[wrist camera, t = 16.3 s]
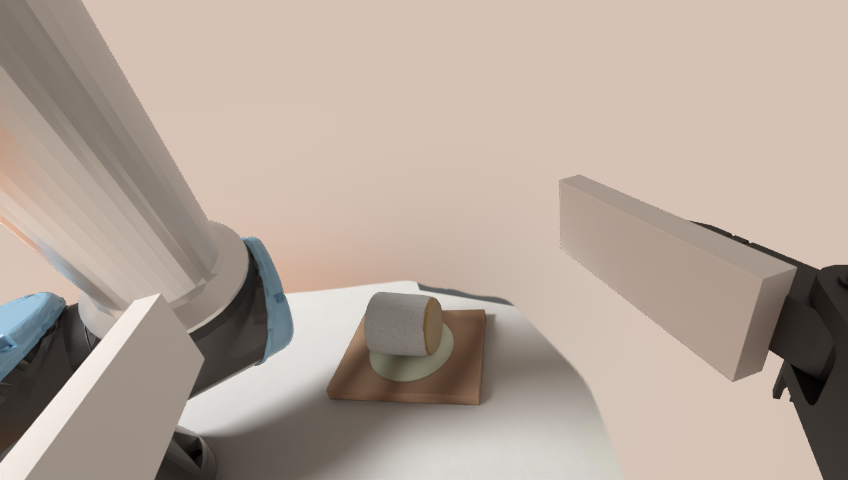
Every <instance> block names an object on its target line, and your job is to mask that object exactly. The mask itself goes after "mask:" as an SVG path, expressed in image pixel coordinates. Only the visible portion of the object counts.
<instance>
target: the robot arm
mask: <svg viewBox="0 0 848 480" xmlns="http://www.w3.org/2000/svg"><path fill="white" fill-rule="evenodd" d="M559 191H560V192H559V195H560V241H561V243H560V245H561V249H562V250H563V251H564V252H565V253H567V254H568V255H569V256H571V257H572V258H573V259H574V260H576V261H577V262H578V263H580V264H581V265H582V266H583V267H585V268H586V269H587V270H589V271H590V272H591V273H592V274H594V275H595V276H596V277H598V278H599V279H600V280H602V281H603V282H604V283H605V284H607V285H608V286H609V287H611V288H612V289H613V290H614V291H616V292H617V293H618V294H620V295H621V296H622V297H623V298H625V299H626V300H627V301H629V302H630V303H631V304H632V305H634V306H635V307H636V308H638V309H639V310H640V311H641V312H643V313H644V314H645V315H647V316H648V317H649V318H650V319H652V320H653V321H654V322H656V323H657V324H658V325H660V326H661V327H662V328H663V329H665V330H666V331H667V332H669V333H670V334H671V335H673V336H674V337H675V338H676V339H678V340H679V341H680V342H682V343H683V344H684V345H685V346H687V347H688V348H690V350H692V351H693V352H694V353H696V354H697V355H698V356H700V357H701V358H702V359H703V360H705V361H706V362H707V363H709V364H710V365H711V366H713V367H714V368H715V369H716V370H718V371H719V372H720V373H721V374H723V375H724V376H725V377H727V378H728V379H729V380H731V381H732V382H734V381H737V380H739V379H742V378H744V377H747V376H749V375H752V374H755V373H757V372H760V371H762V369H763V366H764V363H765V360H766V357H767V354H768V351H769V350H770V351H772V352H773V353H775V354H777V355H778V356H780V357H781V358H783V359H784V362H783V364H782V367H781V369H780V372H779V375H778V377H777V380H776V383H775V385H774V388H773V398H775V399H780V397H781V395H782V392H783V390H784V389H785V388H786V387H787V388H788V391H789V393H790V395H791V397H790V402H793V403H794V406H795V408H796V411H797V413H798V416H799V418H800V421H801V424H802V426H803V429H804V431H805V434H806V436H807V439H808V442H809V444H810V447H811V449H812V452H813V454H814V457H815V459H816V462H817V464H818V466H819V470H820V472H821V475H822V477H823V480H848V265H833V266H829V267H825V268H822V269H821V270H819V269H816V268H814V267H811V266H809V265H807V264H804V263H802V262H799V261H797V260H794V259H792V258H789V257H787V256H785V255H782V254H780V253H777V252H775V251H773V250H770V249H768V248H765V247H763V246H760V245H758V244H755V243H749V241H748V240H746V239H743V238H741V237H738V236H736V235H735V236H732V234H731V233H729V232H726V231H724V230H721V229H719V228H717V227H714V226H712V225H707V224H702V223H698V222H693V221H688V220H685V219H683V218H680V217H678V216H675V215H673V214H671V213H669V212H666V211H663V210H661V209H659V208H657V207H654V206H652V205H649V204H647V203H645V202H643V201H640V200H638V199H635V198H633V197H631V196H628V195H626V194H624V193H621V192H619V191H617V190H614V189H612V188H610V187H607V186H605V185H602V184H600V183H598V182H595V181H593V180H591V179H588V178H586V177H584V176H581V175H576V176H573V177H569V178H565V179H562V180H559ZM0 224H1V225H2V226H3V227H5V228H6V229H7V230H8V231H10V232H11V233H12V234H13V235H15V236H16V237H17V238H18V239H19V240H21V241H22V242H23V243H24V244H26V245H27V246H28V247H30V249H32V250H33V251H34V252H36V253H37V254H38V255H39V256H40V257H42V258H43V259H44V260H45V261H47V262H48V263H49V264H50V265H52V266H53V267H54V268H55V269H56V270H58V271H59V272H60V273H62V274H63V275H64V276H65V277H66V278H68V279H69V280H70V281H71V282H72V283H74V284H75V285H76V286H77V287H79V288H80V289H81V291H80V294H79V300H78V303H76V304H74V305H70V306H67V305H66V301H65V300H64V298H62V297H59V296H57V295H55V294H53V293H50V292H40V293H37V294H36V295H27V296H24V297H21V298H19V299H16V300H13V301H11V302H9V303H6V304H4V305H2V306H0V480H215V477H216V461H215V457H214V454H213V452H212V451H211V449H210V448H209V447H208V445H207V444H206V443H205V442H204V440H203V439H202V438H201V437H200V436H199V435H197V434H196V433H194V432H192V431H190V430H188V429H186V428H183V427H181V426H179V425H177V424H178V421H179V419H180V417H181V414H182V412H183V410H184V407H185V405H186V402H187V401H188V400H190V399H191V398H193V397H195V396H197V395H199V394H201V393H203V392H205V391H207V390H208V389H210V388H212V387H214V386H216V385H218V384H220V383H222V382H224V381H226V380H227V379H229V378H231V377H233V376H235V375H237V374H239V373H241V372H243V371H244V370H246V369H248V368H250V367H252V366H257V365H260V364H262V363H264V362H265V361H266V359H267V358H269V357H270V356H272V355H274V354H275V353H277V352H279V351H280V350H282V349H284V348H285V347H286V346H287V345H288V344H289V343H290V342H291V340H292V337H293V332H294V327H293V320H292V316H291V312H290V308H289V305H288V302H287V299H286V297H285V295H284V294H283V288H282V284H281V281H280V279H279V276H278V273H277V271H276V269H275V266H274V264H273V262H272V260H271V258H270V255H269V254H268V252H267V250H266V248H265V246H264V245H263V244H262V242H261V241H260V240H259V239H257V238H256V237H248V238H244V237H242V238H240V237H239V236H238V234H236V233H235V232H234V231H233V230H232V229H230V228H229V227H227V226H225V225H223V224H220V223H217V222H214V221H209V220H208V219H207V217H206V215H205V214H204V212H203V210H202V209H201V207H200V205H199V203H198V202H197V200H196V198H195V196H194V195H193V193H192V191H191V190H190V188H189V186H188V184H187V183H186V181H185V179H184V177H183V176H182V174H181V172H180V171H179V169H178V167H177V165H176V163H175V162H174V160H173V158H172V157H171V155H170V153H169V151H168V150H167V148H166V146H165V144H164V143H163V141H162V139H161V137H160V136H159V134H158V132H157V131H156V129H155V127H154V125H153V124H152V122H151V120H150V118H149V117H148V115H147V113H146V112H145V110H144V108H143V106H142V105H141V103H140V101H139V99H138V98H137V96H136V94H135V92H134V91H133V89H132V87H131V86H130V84H129V82H128V80H127V79H126V77H125V75H124V73H123V72H122V70H121V68H120V66H119V65H118V63H117V61H116V60H115V58H114V56H113V55H112V53H111V51H110V49H109V48H108V46H107V44H106V42H105V40H104V39H103V37H102V35H101V34H100V32H99V30H98V29H97V27H96V25H95V23H94V21H93V20H92V18H91V16H90V14H89V13H88V11H87V10H86V8H85V6H84V4H83V2H82V1H81V0H0Z"/></svg>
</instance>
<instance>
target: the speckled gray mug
mask: <svg viewBox="0 0 848 480" xmlns="http://www.w3.org/2000/svg"><path fill="white" fill-rule="evenodd" d="M442 329H443V315H442V309H441V305H440V303H439V302H438V300H437V299H435V298H433V297H430V296H425V295H414V294H400V293H388V292H378V293H376V294H374V295H373V297H372V298H371V300H370V301H369V304H368V306H367V309H366V313H365V318H364V334H365V340H366V344H367V347H368V349H369V350H370V351H371V352H372V353H374V354H389V355H408V356H429V355H433V354H434V353H435V352H436V351H437V350H438V348H439V346H440V342H441V337H442Z"/></svg>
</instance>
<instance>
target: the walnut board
mask: <svg viewBox="0 0 848 480" xmlns="http://www.w3.org/2000/svg"><path fill="white" fill-rule="evenodd" d="M442 315H443V329H442V337H441V342H440V346H439V348H438V350H437V351H436V352H435V353H434V354H433V355H429V356H408V355H389V354H374V353H372V352H371V351H370V350H369V349H368V347H367V344H366V340H365V334H364V318H365V314H364V316H363V318H362V320H361V322H360V324H359V326H358V328H357V330H356V332H355V334H354V336H353V338H352V340H351V342H350V344H349V346H348V348H347V350H346V352H345V354H344V356H343V358H342V360H341V362H340V364H339V366H338V368H337V370H336V372H335V374H334V376H333V378H332V380H331V382H330V384H329V386H328V388H327V390H326V391H327V393H328V395H329V397H330V399H348V400H371V401H394V402H417V403H440V404H463V405H479V403H480V389H481V376H482V363H483V349H484V336H485V323H486V315H485V309H483V310H446V311H442Z"/></svg>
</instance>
